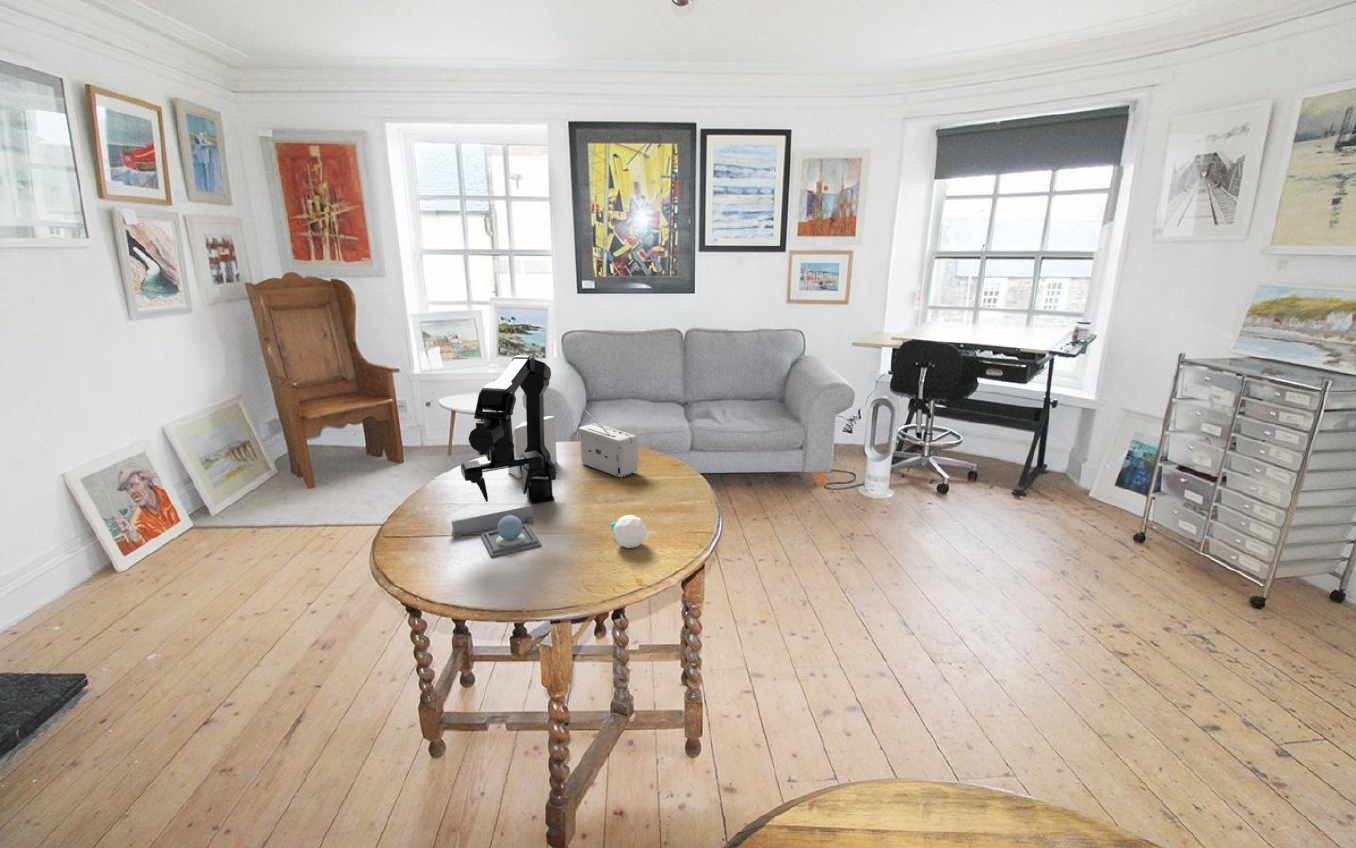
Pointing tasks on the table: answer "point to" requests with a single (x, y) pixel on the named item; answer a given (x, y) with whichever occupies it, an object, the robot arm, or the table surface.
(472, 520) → the long gray bar
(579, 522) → the table surface
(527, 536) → the gray square tray
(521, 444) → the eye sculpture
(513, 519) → the ball
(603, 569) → the table surface
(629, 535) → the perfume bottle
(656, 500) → the table surface
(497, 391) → the robot arm
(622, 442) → the stereo radio cassette player
